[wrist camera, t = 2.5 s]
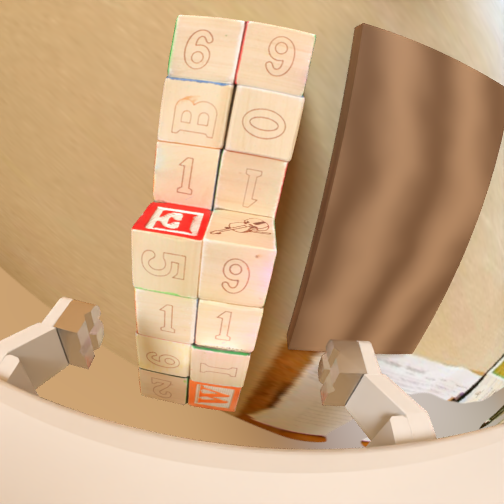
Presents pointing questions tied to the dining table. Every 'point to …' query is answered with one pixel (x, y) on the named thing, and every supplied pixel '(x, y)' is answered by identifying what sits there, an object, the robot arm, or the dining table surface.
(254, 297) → the stack of blocks
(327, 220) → the walnut board
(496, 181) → the dining table surface
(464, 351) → the dining table surface
